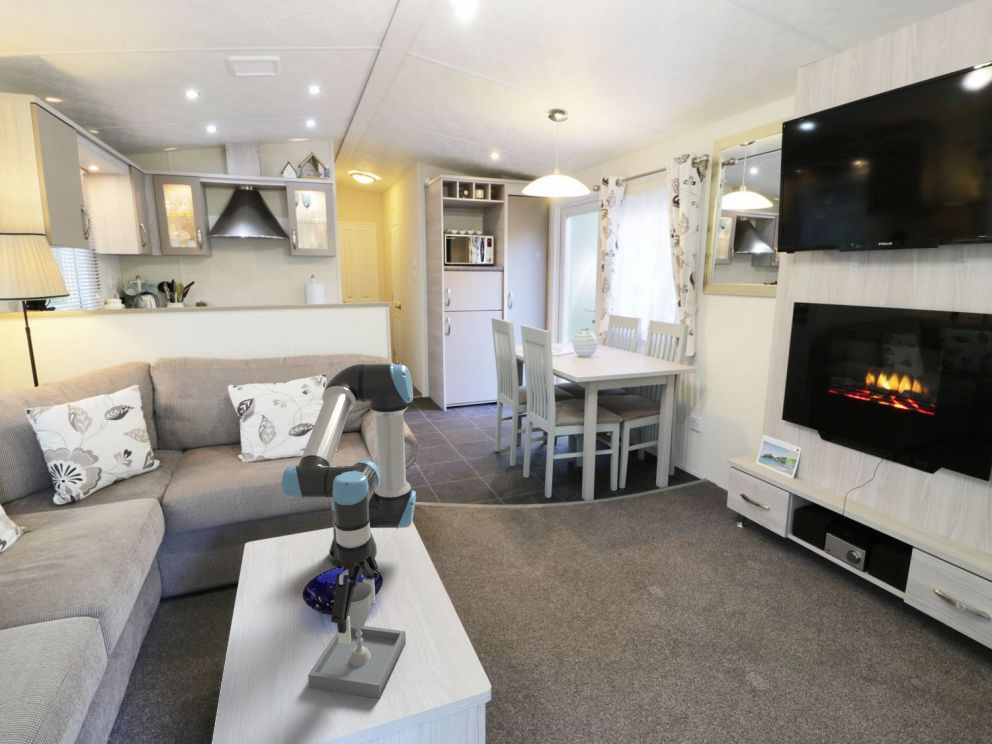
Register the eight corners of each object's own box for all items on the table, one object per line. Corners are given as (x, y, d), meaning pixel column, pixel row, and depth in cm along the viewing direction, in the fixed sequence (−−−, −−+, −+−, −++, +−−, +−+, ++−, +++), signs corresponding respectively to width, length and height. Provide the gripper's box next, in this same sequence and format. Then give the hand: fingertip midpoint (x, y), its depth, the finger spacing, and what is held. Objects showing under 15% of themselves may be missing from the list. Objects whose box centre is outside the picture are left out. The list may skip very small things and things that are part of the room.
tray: (343, 634, 131) (342, 623, 130) (405, 643, 128) (405, 631, 127) (309, 687, 114) (308, 674, 114) (380, 698, 112) (379, 685, 111)
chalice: (366, 672, 117) (362, 604, 113) (339, 667, 118) (335, 599, 114) (379, 649, 124) (376, 584, 120) (354, 644, 125) (350, 580, 121)
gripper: (361, 512, 127) (364, 586, 131) (309, 570, 103) (316, 658, 107) (389, 514, 126) (392, 589, 130) (343, 574, 102) (349, 663, 106)
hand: (357, 621), depth 119 cm, fingers open, 13 cm apart
